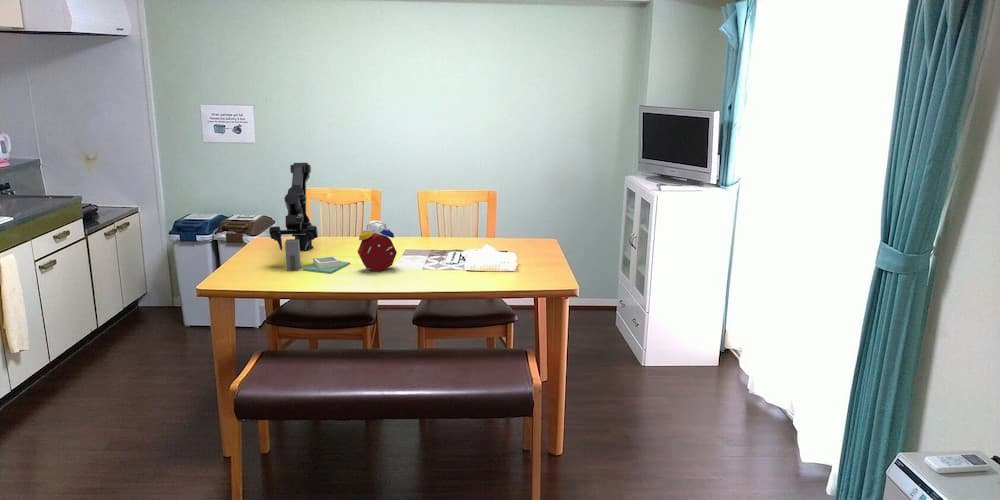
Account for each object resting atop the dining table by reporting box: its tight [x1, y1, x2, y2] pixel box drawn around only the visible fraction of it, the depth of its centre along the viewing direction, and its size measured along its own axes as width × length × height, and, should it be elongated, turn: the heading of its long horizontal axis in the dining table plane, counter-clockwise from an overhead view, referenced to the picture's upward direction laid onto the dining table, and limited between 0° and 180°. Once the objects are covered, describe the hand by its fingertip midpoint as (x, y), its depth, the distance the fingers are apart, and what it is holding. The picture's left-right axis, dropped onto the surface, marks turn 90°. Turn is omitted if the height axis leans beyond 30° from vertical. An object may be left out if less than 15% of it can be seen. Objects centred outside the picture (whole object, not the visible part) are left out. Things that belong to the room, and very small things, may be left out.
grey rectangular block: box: [284, 238, 302, 272], centre depth 292 cm, size 5×5×12 cm
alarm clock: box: [357, 222, 398, 273], centre depth 291 cm, size 15×9×20 cm, turn 111°
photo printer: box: [368, 220, 387, 236], centre depth 328 cm, size 10×4×12 cm, turn 39°
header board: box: [302, 255, 351, 274], centre depth 297 cm, size 13×15×3 cm
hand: (292, 250), depth 292 cm, fingers open, 9 cm apart
